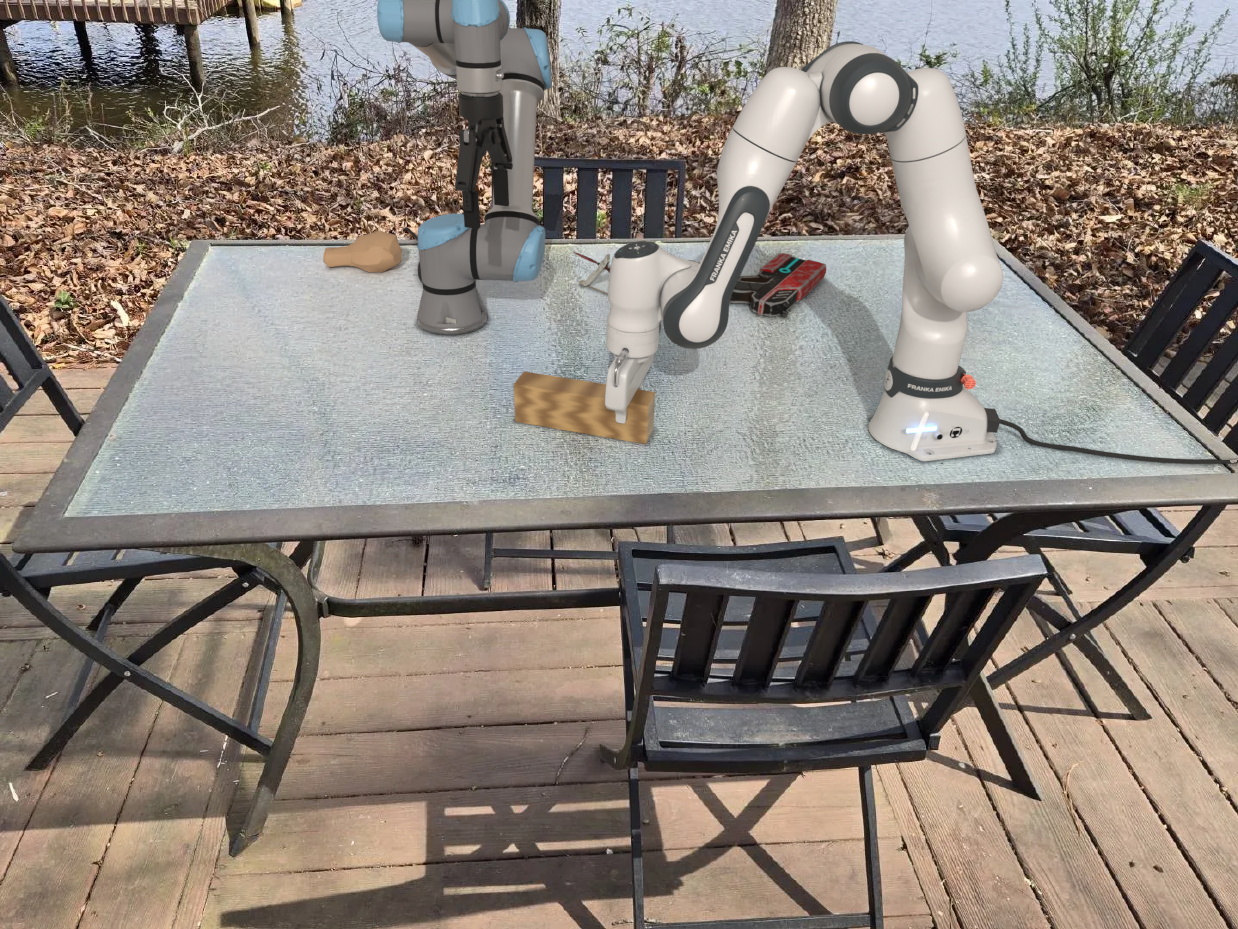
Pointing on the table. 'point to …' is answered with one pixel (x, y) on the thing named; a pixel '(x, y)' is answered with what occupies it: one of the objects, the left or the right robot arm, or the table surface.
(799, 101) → the right robot arm
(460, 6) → the left robot arm
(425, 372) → the table surface
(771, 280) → the gun
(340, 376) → the table surface
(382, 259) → the squash
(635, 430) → the bar
